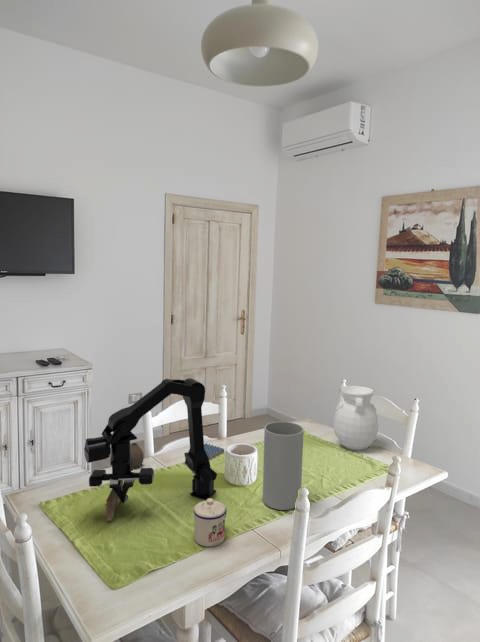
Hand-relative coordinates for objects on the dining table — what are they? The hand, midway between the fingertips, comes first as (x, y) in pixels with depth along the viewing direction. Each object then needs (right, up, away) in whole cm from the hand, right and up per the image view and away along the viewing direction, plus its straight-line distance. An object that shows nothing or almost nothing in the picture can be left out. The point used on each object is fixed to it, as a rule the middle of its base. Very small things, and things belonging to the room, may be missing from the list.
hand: (123, 503), depth 149 cm
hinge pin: (-3, -2, +10) cm, 10 cm away
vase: (-4, +1, +35) cm, 35 cm away
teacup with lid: (+28, -6, -10) cm, 30 cm away
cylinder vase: (+49, -4, +10) cm, 51 cm away
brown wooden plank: (-3, -2, +2) cm, 4 cm away
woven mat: (+23, +2, +48) cm, 53 cm away
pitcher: (+85, +2, +58) cm, 103 cm away
